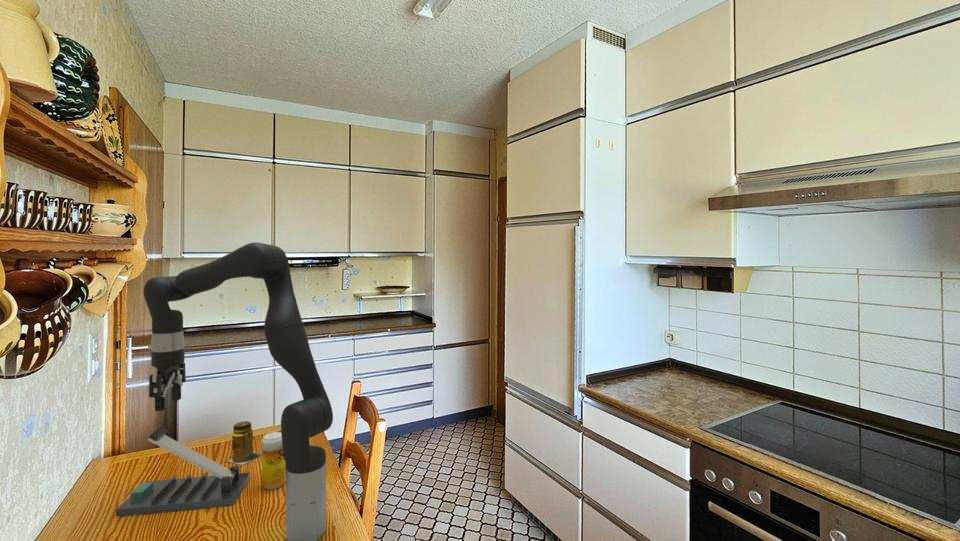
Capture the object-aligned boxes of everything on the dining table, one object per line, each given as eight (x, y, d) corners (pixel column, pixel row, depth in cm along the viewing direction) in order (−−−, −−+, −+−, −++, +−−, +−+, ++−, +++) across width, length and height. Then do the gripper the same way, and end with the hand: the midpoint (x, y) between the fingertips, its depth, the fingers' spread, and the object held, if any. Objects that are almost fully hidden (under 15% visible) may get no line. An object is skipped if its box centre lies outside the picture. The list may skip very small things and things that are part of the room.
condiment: (226, 461, 141) (225, 426, 141) (248, 450, 149) (247, 417, 148) (242, 465, 138) (242, 429, 138) (263, 454, 146) (263, 419, 146)
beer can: (275, 491, 123) (275, 440, 123) (257, 489, 125) (256, 438, 124) (289, 480, 129) (288, 432, 129) (271, 478, 130) (271, 430, 130)
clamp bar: (228, 485, 120) (233, 477, 120) (145, 441, 116) (151, 433, 116) (234, 476, 125) (239, 469, 125) (155, 434, 121) (161, 426, 121)
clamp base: (233, 505, 116) (233, 483, 116) (116, 516, 111) (115, 494, 111) (250, 478, 130) (249, 459, 130) (146, 488, 125) (146, 468, 124)
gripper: (169, 353, 112) (170, 413, 113) (194, 342, 126) (195, 396, 127) (137, 354, 111) (138, 415, 111) (166, 342, 125) (167, 397, 125)
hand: (168, 405), depth 119 cm, fingers open, 8 cm apart
